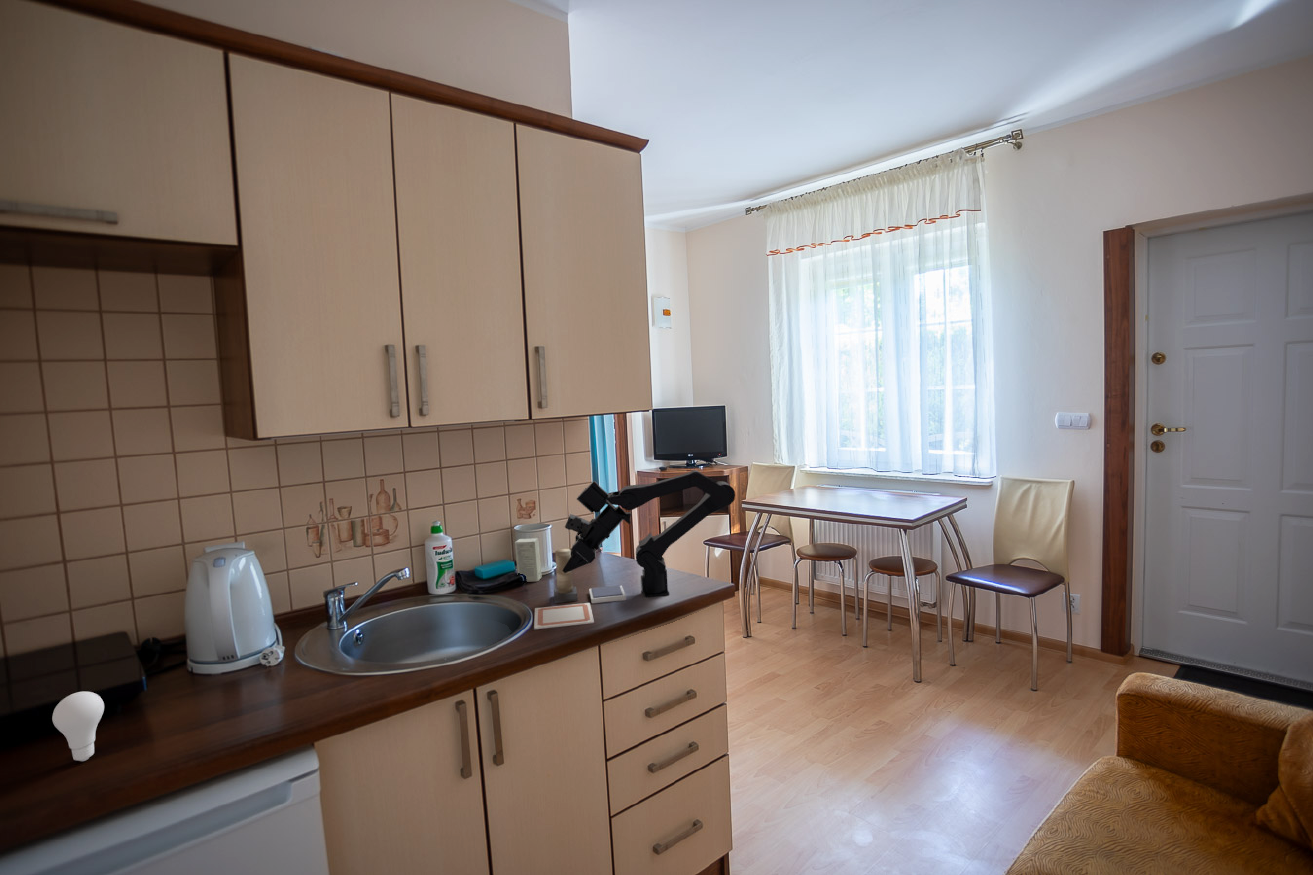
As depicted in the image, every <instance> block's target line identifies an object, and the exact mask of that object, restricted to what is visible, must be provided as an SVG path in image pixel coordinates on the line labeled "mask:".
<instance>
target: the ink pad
mask: <svg viewBox="0 0 1313 875" xmlns="http://www.w3.org/2000/svg"><path fill="white" fill-rule="evenodd" d="M588 590H589V592H588V593H589V597H590V601H591V602H590V603H591V604H599V603H608V602H621V601H626V600H627V596H626V595H627V594H626V592H625V590H624V588H623V585H612V586H611V585H609V586H602V587H592V588H589V589H588Z"/></svg>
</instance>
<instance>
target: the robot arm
mask: <svg viewBox="0 0 1313 875" xmlns="http://www.w3.org/2000/svg"><path fill="white" fill-rule="evenodd" d="M691 488H697V489H699V490H700V491H703V492H704V493H705V494H704V495H703V497H702V498H701V500H700V501H699V502H698V503H696V505H694V506H693V507H692V508H690V509H689V510H688V511H687V512H685V513H684V514H683V515H682V516H680V517H679V518H678V519H676V520H675V521H674V522H672V524H670V525H669V526H668V527H667V528H665V529H664V530H662V531H661V533H659V534H656V535H654V536H653V535H652V533H651V532H649V533H648V534H647V535H646V536H645V537H644V538H643V539H640V540H639V541H638V545H637V546H636V548H635V561H636V562H637V565H638V566H640V568H643V569H641V570H642V572H641V573H642V574H641V575H640V589H641V593H642V594H644V597H647V598H649V597H656V596H657V597H658V596H666V595H670V591H669V587H668V571H667V569H666V567H667V566H666V560H665V557H663V556H664V554H665V553H666V552H667V550H668V549H669V547H671V546H672V545H673V544H675V542H677V541H678V540H679V539H681V538H682V537H683V536H684V535H685V534H687V533H688V532H689V531H691V530H692V529H693V528H695V526H696V525H698V524H700V522H702V521H703V520H704V519H706V518H707V517H708V516H709V515H711V514H713V513H716V512H718V511H721V510H723V509H724V508H726V507H728V506H730V505H732V504H733V503H734V501H735V499H736V492H735V489H734V488H733V487H732V486H731V485H730V484H729V483H728V482H726V481H722V480H721V481H720V480H719V481H716V480H715V479H713V478H712V477H709V476H707V475H705V474H703V473H701V472H700V471H699V470H695V469H694V470H691V471H689V472H686V473H683V474H682V473H681V474H679V475H675V476H672V477H669V478H665V479H662V480H659V481H658V480H657V481H656V482H653V483H646V484H633V485H626V486H623V487H622V488H621V489H620V490H618V491H612V492H606V490H604V489H603V487H601V486H600V485H599V483H598V482H597V481H596V480H593V481H592V482H591V483H590V484H589V485H588V486H587V487H585V488H584V489H583V491H581V492H580V493H579V495H578V496H577V497H576V500H577V502H579V503H580V504H581V505H582V506H583V507H585V509H587V510H588V511H589V512H590V513H591V514H592V513H597V514H598V513H599V512H600V511H601V510H602V509H603V510H602V511H601V512H600V513H599V514H598V515H597V516H596V517H595V518H592V519H591V520H590V521H589V520H587V519H585V518H582V517H579V516H577V515H574V514H569V516H568V518H567V521H566V523H565V525H564V528H565V529H566V530H568V531H569V530H571V531H573V532H576V534H575V537H574V538H575V542H574V543H573V544H572V547H571V557H570V559H569V560H568V562H567V563H566V565H565V567H564V568H563V570H562V571H563V572H564V573H567V572H569V571H571V570H572V571H574V570H576V569H578V568H580V567H583V566H585V565H590V564H592V562H593V561H594V560H595V559H596V558H597V557H596V556H597V551H598V550H599V548H600V546H601V545H602V543H604V542H605V541H606V539H607V540H608V539H609V538H610V536H611V534H612V533H613V532H614V530H616V528H617V527H618V526H619V525H620V524H621V523H622V522H623V521H625V523H626V524H628V525H630V524H631V515H632V513H631V511H632V510H635V509H637V508H639V507H642V506H644V505H645V504H647V503H648V502H650V501H652V500H654V499H656V498H659V497H660V498H661V497H663V496H667V495H670V494H675V493H677V492H681V491H683V490H687V489H691ZM606 505H607V506H606ZM604 507H605V508H604ZM626 511H627V512H626ZM628 511H629V512H628Z"/></svg>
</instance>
